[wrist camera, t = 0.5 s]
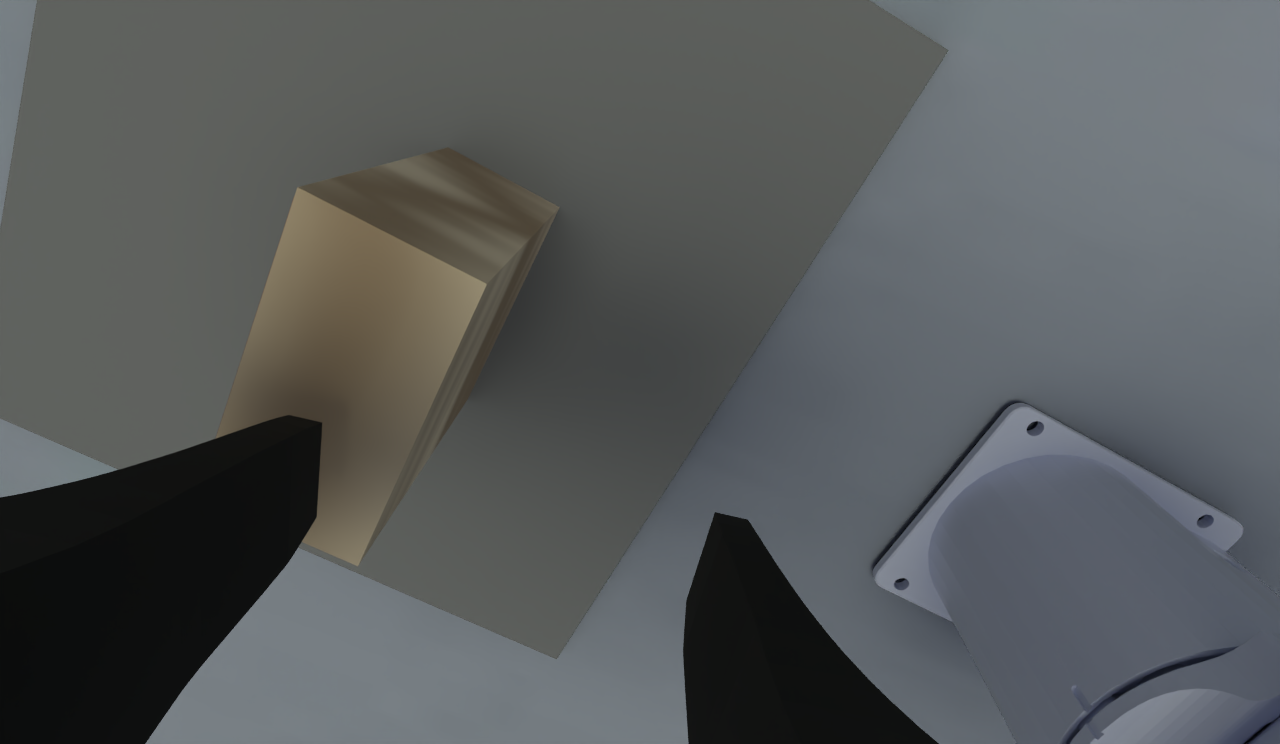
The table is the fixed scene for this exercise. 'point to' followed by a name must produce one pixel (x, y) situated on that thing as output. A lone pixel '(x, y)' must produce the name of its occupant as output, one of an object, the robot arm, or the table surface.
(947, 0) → the table surface
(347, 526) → the beech block
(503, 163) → the rubber mat
